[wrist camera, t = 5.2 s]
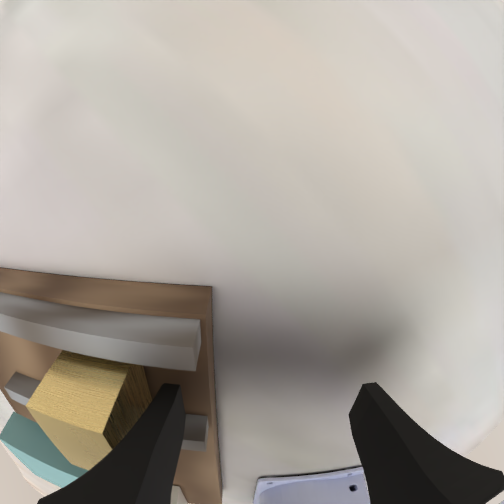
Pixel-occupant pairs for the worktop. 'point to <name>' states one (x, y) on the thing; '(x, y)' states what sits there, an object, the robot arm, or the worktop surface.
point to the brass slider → (89, 405)
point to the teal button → (38, 451)
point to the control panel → (119, 350)
